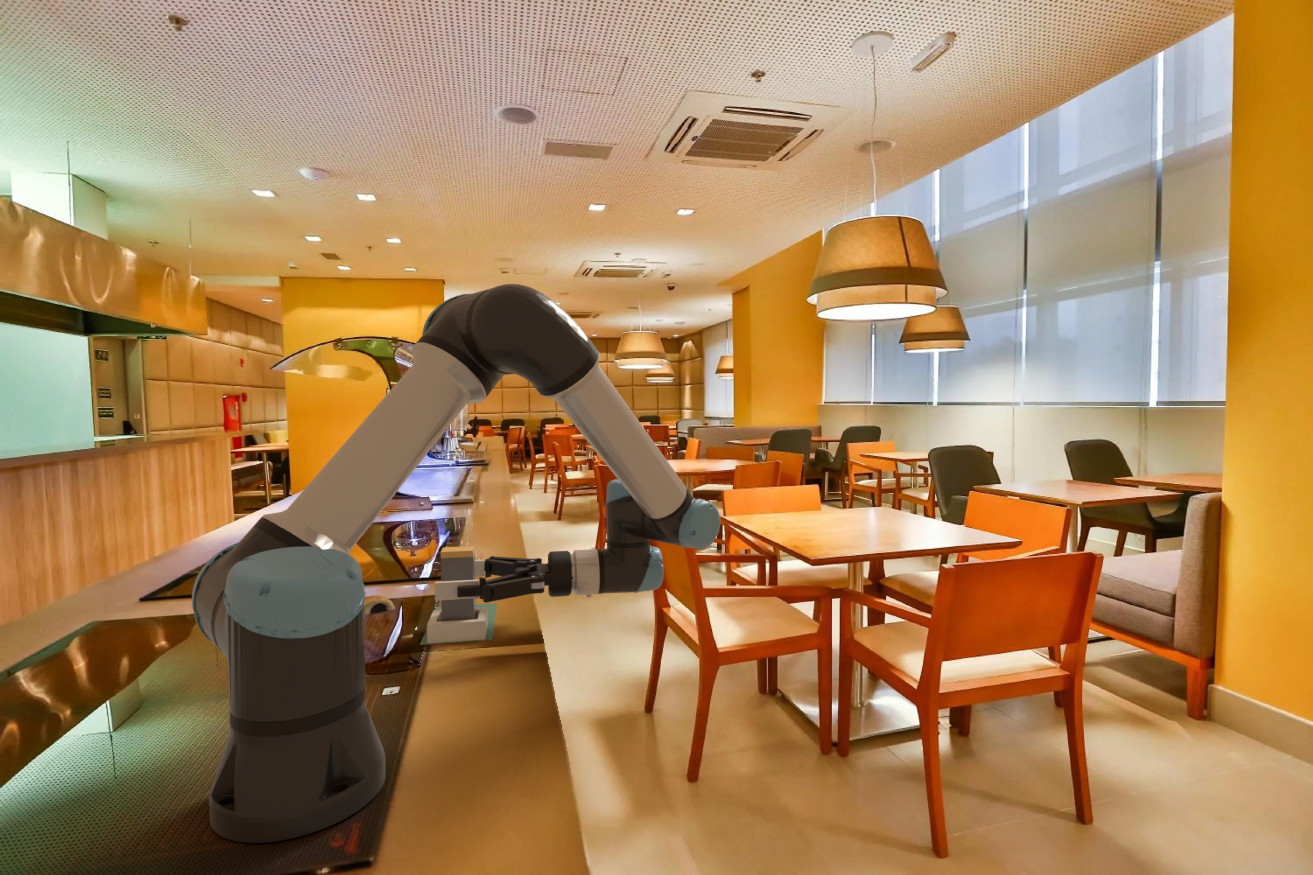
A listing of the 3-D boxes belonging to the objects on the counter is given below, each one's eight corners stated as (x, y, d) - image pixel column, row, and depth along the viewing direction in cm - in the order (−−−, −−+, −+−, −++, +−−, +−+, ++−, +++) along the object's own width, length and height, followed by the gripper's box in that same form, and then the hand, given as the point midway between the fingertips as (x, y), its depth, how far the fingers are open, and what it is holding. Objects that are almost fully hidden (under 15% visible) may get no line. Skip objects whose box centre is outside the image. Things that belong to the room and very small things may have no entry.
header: (485, 639, 103) (484, 620, 103) (427, 643, 101) (427, 624, 101) (487, 624, 111) (487, 607, 110) (433, 627, 109) (433, 610, 109)
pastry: (344, 612, 122) (344, 592, 122) (381, 605, 127) (381, 586, 126) (361, 624, 115) (360, 603, 115) (399, 616, 120) (399, 596, 119)
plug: (474, 636, 105) (473, 550, 104) (441, 638, 104) (440, 551, 103) (475, 628, 108) (474, 546, 108) (444, 630, 107) (443, 547, 107)
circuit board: (492, 646, 103) (492, 639, 103) (419, 652, 101) (419, 644, 101) (497, 609, 123) (497, 603, 123) (436, 613, 121) (436, 606, 121)
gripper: (578, 617, 97) (430, 627, 93) (566, 576, 122) (449, 582, 117) (577, 568, 97) (429, 576, 93) (566, 536, 122) (448, 541, 117)
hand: (440, 579), depth 105 cm, fingers open, 13 cm apart
